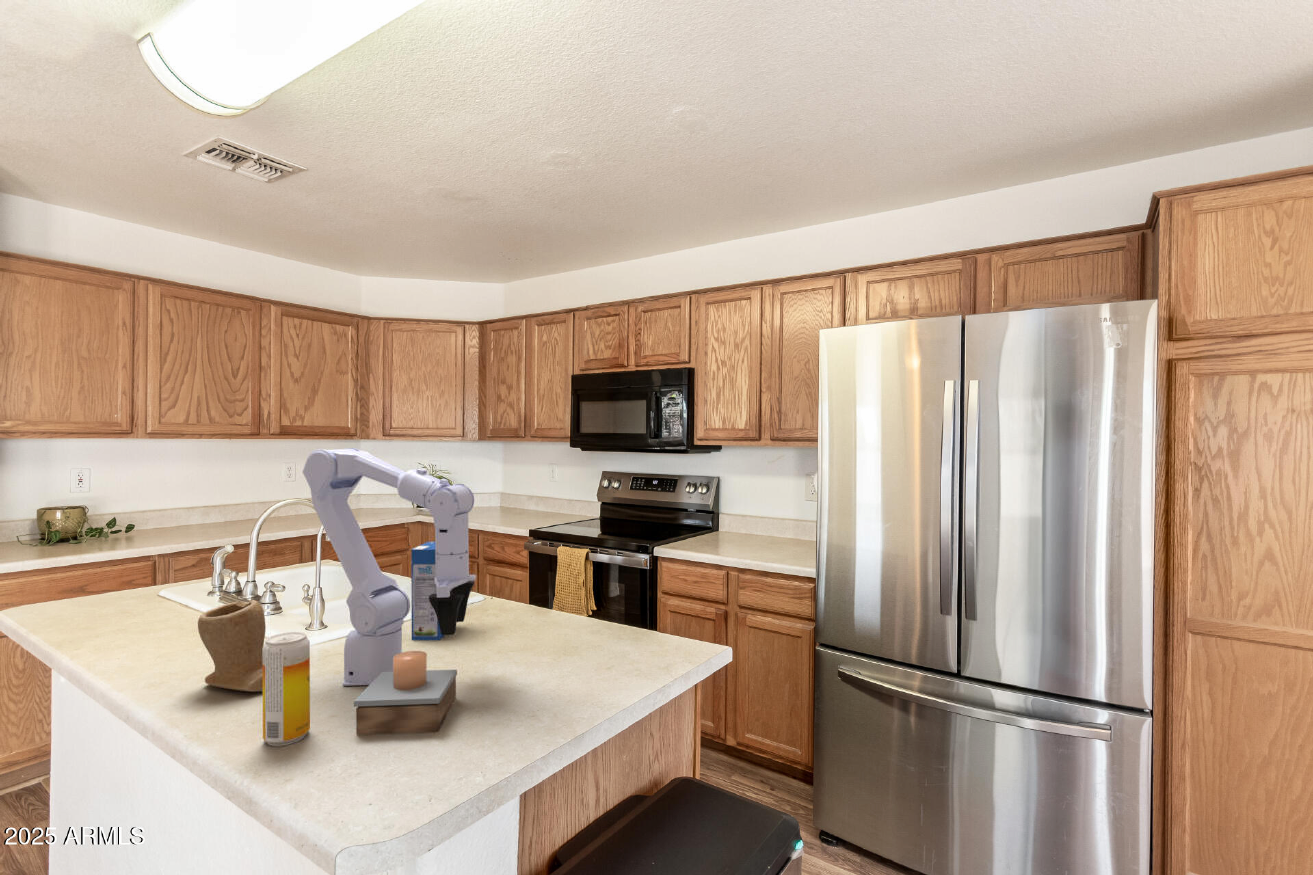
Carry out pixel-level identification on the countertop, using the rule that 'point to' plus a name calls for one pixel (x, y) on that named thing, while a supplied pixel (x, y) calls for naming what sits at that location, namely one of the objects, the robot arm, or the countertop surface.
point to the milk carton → (424, 593)
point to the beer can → (286, 688)
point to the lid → (386, 694)
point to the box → (404, 716)
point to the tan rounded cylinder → (409, 670)
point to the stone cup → (235, 645)
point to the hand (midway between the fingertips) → (453, 627)
